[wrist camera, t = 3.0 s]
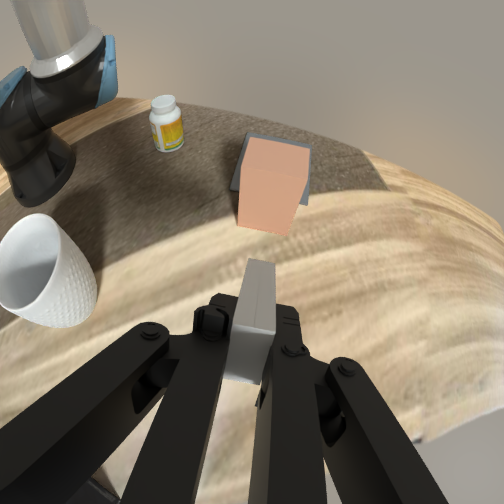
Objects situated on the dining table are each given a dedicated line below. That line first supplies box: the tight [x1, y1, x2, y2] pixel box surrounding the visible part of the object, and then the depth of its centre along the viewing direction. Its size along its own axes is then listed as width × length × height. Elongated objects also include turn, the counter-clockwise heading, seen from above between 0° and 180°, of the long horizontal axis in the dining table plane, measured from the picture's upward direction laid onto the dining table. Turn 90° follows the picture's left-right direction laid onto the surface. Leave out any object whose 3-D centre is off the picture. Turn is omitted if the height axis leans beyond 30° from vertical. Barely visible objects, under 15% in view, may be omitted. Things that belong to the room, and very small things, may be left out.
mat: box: [230, 132, 312, 205], centre depth 43 cm, size 14×12×1 cm
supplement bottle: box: [149, 95, 184, 152], centre depth 40 cm, size 5×5×10 cm
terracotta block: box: [237, 137, 310, 236], centre depth 34 cm, size 5×7×12 cm
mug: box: [0, 213, 97, 328], centre depth 25 cm, size 15×11×13 cm
